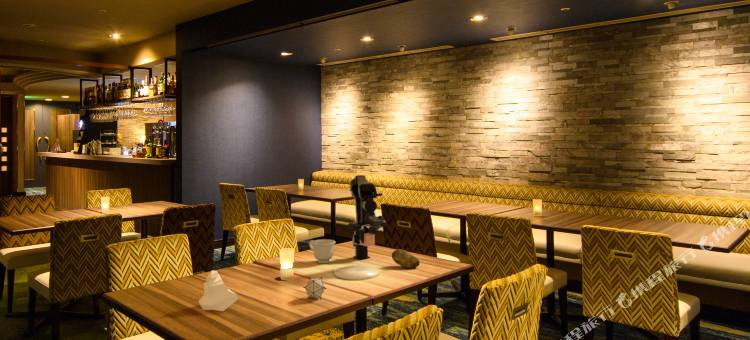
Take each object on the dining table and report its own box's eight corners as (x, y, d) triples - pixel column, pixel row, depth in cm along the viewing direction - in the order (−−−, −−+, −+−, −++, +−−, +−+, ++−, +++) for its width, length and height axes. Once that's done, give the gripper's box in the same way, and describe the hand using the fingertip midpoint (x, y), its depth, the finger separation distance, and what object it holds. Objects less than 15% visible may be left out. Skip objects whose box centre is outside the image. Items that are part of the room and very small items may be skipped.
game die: (316, 309, 205) (314, 293, 199) (300, 298, 209) (297, 282, 203) (332, 293, 211) (329, 277, 204) (315, 282, 215) (313, 266, 208)
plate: (325, 273, 244) (325, 270, 244) (361, 266, 256) (361, 263, 256) (351, 282, 228) (351, 279, 228) (388, 274, 240) (388, 272, 240)
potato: (410, 270, 247) (410, 253, 246) (389, 266, 255) (388, 249, 254) (421, 267, 253) (421, 250, 252) (399, 263, 261) (399, 246, 261)
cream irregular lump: (205, 319, 189) (193, 281, 188) (201, 310, 203) (189, 274, 201) (240, 305, 194) (228, 268, 192) (233, 297, 208) (222, 262, 206)
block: (359, 244, 256) (359, 234, 256) (368, 243, 259) (368, 232, 259) (366, 246, 252) (366, 235, 252) (374, 244, 255) (374, 234, 255)
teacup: (318, 257, 275) (317, 237, 274) (340, 261, 266) (340, 241, 266) (301, 261, 265) (301, 241, 265) (324, 266, 257) (324, 245, 256)
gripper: (361, 213, 243) (361, 247, 244) (393, 209, 254) (393, 242, 255) (346, 210, 251) (347, 244, 252) (378, 207, 263) (378, 239, 264)
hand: (367, 242), depth 256 cm, fingers closed on block, 5 cm apart
